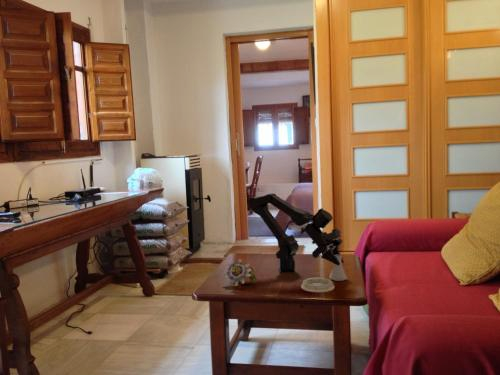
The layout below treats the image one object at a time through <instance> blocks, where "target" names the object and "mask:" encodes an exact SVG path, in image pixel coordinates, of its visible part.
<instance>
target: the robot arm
mask: <svg viewBox="0 0 500 375" xmlns="http://www.w3.org/2000/svg"><path fill="white" fill-rule="evenodd" d="M247 202H248V204H247V205H248V208H249V209H250V210H251V211H252V212H253V213H254V214H256V215H258V216H259V217H260V218H261V220H262V221H263V222H264V224H265V225H266V226H267V228H268V229H269V231H270V232H271V233H272V235H273V236H274V238H275V239H276V241H277V245H278V246H277V247H278V248H279V250H278V251H277V252H276V253H275V256H276V259H278V268H277V269H278V270H279V272H280V273H290V272H291V273H292V272H296V271H295V270H296V261H295V259H294V257H295V256H296V254H297V252H299V241H298V240H296V238H295V237H294V235H293V234H291V235H288V234H287V233H286V231H285V230H284V228H282V226H281V225H280V224H279V222H278V221H277V220H276V219H275V217H274V215H273V214H272V213H271V212H270V210H269V205H268V204H270V205H271V206H273V207H275V208H277V209H278V210H279V211H281V212H282V213H284V214H285V215H287V216H288V217H289V218H290V220H291V221H292V222H293V223H294V224H295V225H296V226H298V227H301V229H300V230H301V231H300V234H301V235H305V234H306V235H308V237H309V238H310V240H311V243H312V244H313V245H316V248H315V249H314V250H313V251H312V252H311V255H312V257H313V258H314V260H317V259H318V258H319V257H320V259H324V260H326V261H328V262H329V263H332V264H333V265H334V264H336V265H340V263H339V261H338V259H337V258H336V257H335V255H341V253H340V247H341V245H342V244H343V242H344V241H343V239H341V237H342V236H341V233H342V231H341V230H340V229H338V228H337V227H336V228H334V229H332V230H331V232H329V233H327V232H326V231H323V230H322V229H325V228H326V227H327V226H328V225H329V224H330V222H332V221H333V220H334V219H333V215H332V214H331V213H330V212H329V211H328V210H326V209H325V210H324V208H322V207H320V208H319V209H318V210H317V212H316V213H315V214H311V213H310V212H309V211H307V210H304V209H302V208H298V207H295V206H294V205H292V204H290V203H289V202H287V201H286V200H284V199H283V198H281V197H280V196H278V195H277V194H276V193H267V194H265V195H261V196H259V195H258V196H254V197H252V196H251V197H250V198H249V200H248V201H247ZM302 226H303V227H302ZM320 255H321V256H320ZM341 261H342V264H344V260H343V256H342V257H341Z"/></svg>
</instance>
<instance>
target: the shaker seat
mask: <svg viewBox="0 0 500 375" xmlns="http://www.w3.org/2000/svg"><path fill="white" fill-rule="evenodd" d="M300 287H301V289H302V290H303V291H306V292H312V293H327V292H331V291H333V290H334V289H335V284H334V283H333V280H331V279H330V278H324V277H308V278H306V279H303V281H302V284H301V286H300Z"/></svg>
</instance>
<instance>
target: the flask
mask: <svg viewBox="0 0 500 375" xmlns="http://www.w3.org/2000/svg"><path fill="white" fill-rule="evenodd" d="M335 257H336V258H337V259H338V261H339V263H340V265H336V264H334V263H333V266H332V268H331V271H330V274H329V277H328V279H329V280H331V281H334V282H335V281H337V282H339V281H340V282H341V281H346V280H348V277H347V275H346V272H345V271H346V270H345V269H344V266H343V263H342V261H341V257H342V258H343V256H342V254H340V255H335Z"/></svg>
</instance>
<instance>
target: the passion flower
mask: <svg viewBox="0 0 500 375" xmlns="http://www.w3.org/2000/svg"><path fill="white" fill-rule="evenodd" d="M249 266H250V262H248V263H242V259H241V258H239V259H238V260H237V261H235V262H234V263H232V262H231V263H228V268H227V271H226V274H225V275H223V278H224V279H227V278H229V279H230V281H229V282H230V283H229V284H230V285H233V284H234V286H235V287H238V285H239V283H241V284H243V285H244V284H245V283H246V278H247V277H248V279H249V280H250V281H251V283H252V284H253V285H255V284H256V282H257V277H256V275H255V274H254V272H255V270H254V268H253V267H252V266H250V267H249ZM223 278H222V279H223Z"/></svg>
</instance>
